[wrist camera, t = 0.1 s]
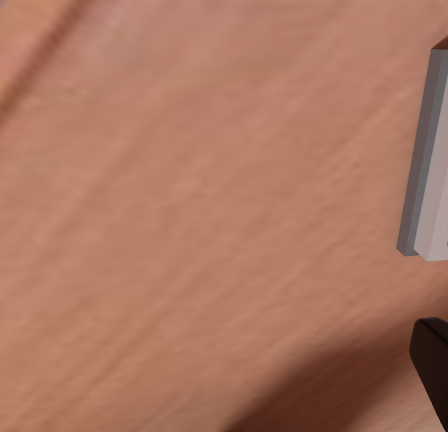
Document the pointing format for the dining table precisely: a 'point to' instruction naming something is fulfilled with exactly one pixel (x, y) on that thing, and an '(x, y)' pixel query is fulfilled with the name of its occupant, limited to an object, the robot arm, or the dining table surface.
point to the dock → (429, 171)
